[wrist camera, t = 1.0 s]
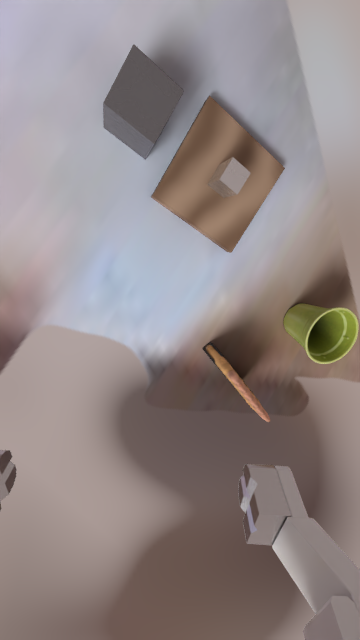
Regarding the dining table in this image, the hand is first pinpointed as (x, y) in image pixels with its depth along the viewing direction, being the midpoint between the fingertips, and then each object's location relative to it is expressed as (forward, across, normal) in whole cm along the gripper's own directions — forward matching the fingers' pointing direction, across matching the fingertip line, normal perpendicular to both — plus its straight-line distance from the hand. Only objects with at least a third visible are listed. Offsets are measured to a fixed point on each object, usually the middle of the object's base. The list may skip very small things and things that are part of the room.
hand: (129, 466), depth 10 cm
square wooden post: (+37, -7, -8) cm, 39 cm away
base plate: (+39, -6, -8) cm, 40 cm away
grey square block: (+37, +5, -14) cm, 40 cm away
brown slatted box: (+34, -11, +21) cm, 42 cm away
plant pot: (+39, -24, +14) cm, 48 cm away
